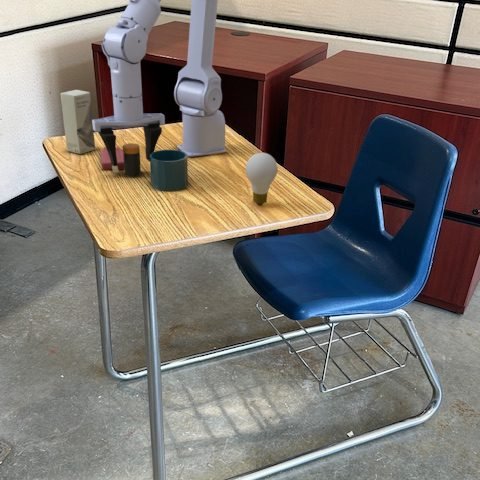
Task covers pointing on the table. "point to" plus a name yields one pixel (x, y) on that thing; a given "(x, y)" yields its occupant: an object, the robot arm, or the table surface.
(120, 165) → the popsicle
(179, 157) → the tumbler
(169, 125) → the table surface
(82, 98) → the box
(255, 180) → the light bulb
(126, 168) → the glue stick
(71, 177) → the table surface
